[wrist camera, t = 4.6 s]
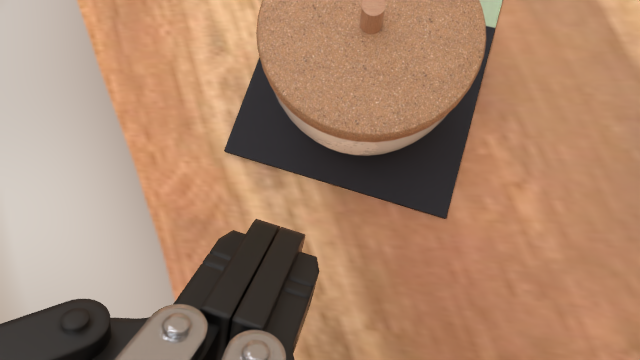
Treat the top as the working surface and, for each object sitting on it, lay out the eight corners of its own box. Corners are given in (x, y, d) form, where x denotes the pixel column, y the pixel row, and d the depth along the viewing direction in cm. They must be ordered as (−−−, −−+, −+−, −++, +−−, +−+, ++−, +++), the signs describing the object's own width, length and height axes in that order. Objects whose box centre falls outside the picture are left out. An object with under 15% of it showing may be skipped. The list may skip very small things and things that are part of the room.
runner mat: (445, 218, 27) (445, 218, 27) (224, 151, 28) (224, 150, 28) (535, -128, 32) (536, -131, 32) (346, -170, 34) (346, -173, 34)
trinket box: (441, 186, 27) (495, 136, 18) (264, 166, 28) (230, 108, 19) (451, 26, 30) (504, -90, 20) (288, 11, 30) (269, -109, 21)
